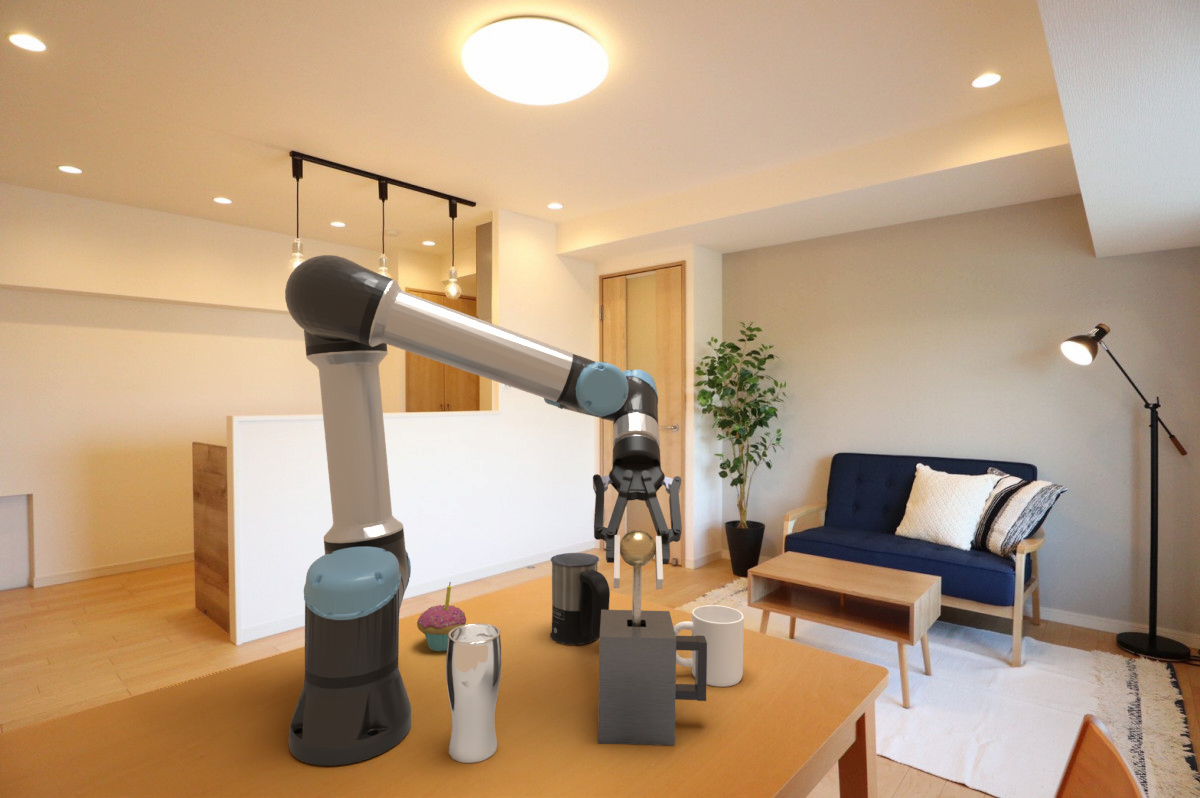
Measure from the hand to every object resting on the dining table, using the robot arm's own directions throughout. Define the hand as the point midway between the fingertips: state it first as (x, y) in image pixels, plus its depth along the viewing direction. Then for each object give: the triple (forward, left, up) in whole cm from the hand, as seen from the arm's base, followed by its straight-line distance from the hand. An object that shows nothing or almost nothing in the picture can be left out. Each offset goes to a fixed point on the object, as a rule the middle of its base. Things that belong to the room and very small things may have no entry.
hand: (638, 583), depth 80 cm
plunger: (0, +4, -16) cm, 16 cm away
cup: (+12, +19, -21) cm, 31 cm away
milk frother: (-7, +35, -21) cm, 41 cm away
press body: (+2, +4, -21) cm, 21 cm away
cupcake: (-34, +28, -21) cm, 49 cm away
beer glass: (-21, -3, -21) cm, 30 cm away
